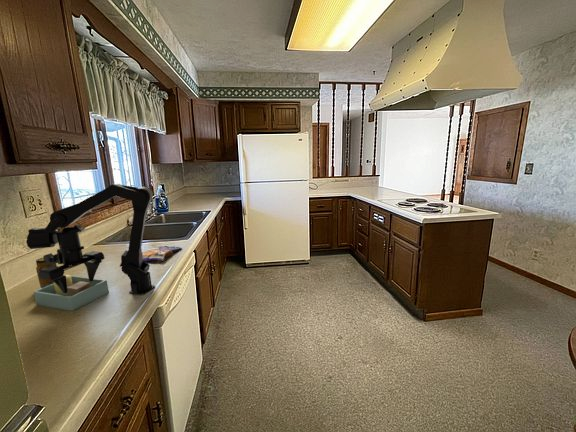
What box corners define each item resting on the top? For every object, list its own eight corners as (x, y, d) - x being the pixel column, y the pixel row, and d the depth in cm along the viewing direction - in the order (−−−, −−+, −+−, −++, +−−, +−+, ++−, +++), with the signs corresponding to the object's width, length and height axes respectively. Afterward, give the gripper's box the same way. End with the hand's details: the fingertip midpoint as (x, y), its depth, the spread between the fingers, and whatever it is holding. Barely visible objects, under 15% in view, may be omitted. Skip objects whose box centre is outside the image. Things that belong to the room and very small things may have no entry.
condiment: (48, 283, 111) (42, 255, 108) (70, 282, 112) (64, 254, 109) (34, 292, 104) (26, 262, 101) (57, 290, 105) (51, 261, 102)
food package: (124, 265, 130) (123, 256, 129) (155, 248, 154) (154, 240, 154) (167, 266, 128) (166, 257, 127) (191, 248, 152) (191, 241, 151)
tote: (74, 287, 107) (72, 275, 106) (108, 292, 102) (106, 280, 101) (36, 304, 95) (33, 291, 93) (73, 311, 90) (70, 297, 89)
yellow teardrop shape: (77, 292, 101) (74, 275, 100) (64, 299, 96) (61, 281, 95) (66, 291, 102) (63, 274, 101) (53, 298, 97) (49, 280, 96)
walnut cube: (83, 293, 100) (80, 281, 99) (93, 295, 99) (90, 282, 98) (69, 300, 96) (66, 287, 95) (79, 302, 94) (76, 289, 93)
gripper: (79, 235, 104) (87, 273, 107) (21, 252, 86) (32, 297, 90) (101, 237, 101) (109, 276, 104) (46, 255, 83) (57, 301, 87)
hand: (78, 286), depth 96 cm, fingers open, 9 cm apart
